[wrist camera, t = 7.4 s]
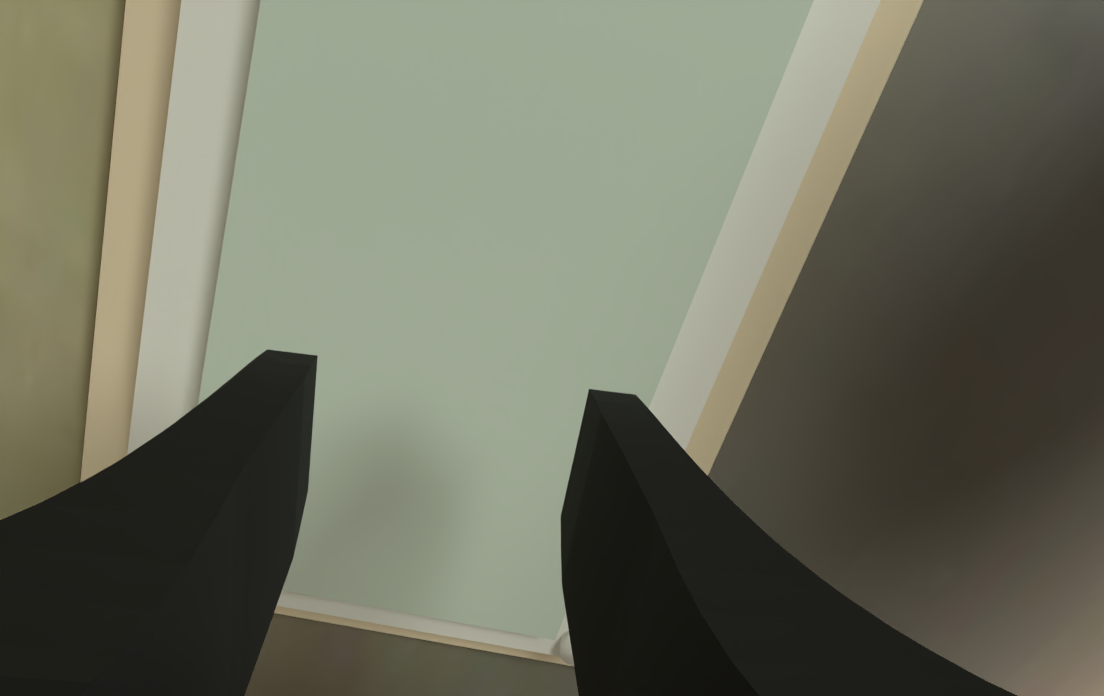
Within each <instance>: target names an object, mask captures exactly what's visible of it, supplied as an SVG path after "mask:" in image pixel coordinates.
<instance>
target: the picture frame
mask: <svg viewBox="0 0 1104 696" xmlns="http://www.w3.org/2000/svg"><path fill="white" fill-rule="evenodd" d="M922 3H923V0H126V5H125V15H124V26H123V36H122V47H121V58H120V68H119V79H118V89H117V100H116V111H115V121H114V132H113V142H112V153H111V163H110V174H109V185H108V195H107V206H106V216H105V227H104V238H103V248H102V259H101V269H100V280H99V290H98V301H97V312H96V322H95V333H94V343H93V354H92V365H91V375H90V386H89V396H88V407H87V417H86V428H85V439H84V449H83V460H82V470H81V481H80V482H82V481H84V480H86V479H88V478H90V477H91V476H93V475H95V474H97V473H98V472H100V471H102V470H104V469H105V468H107V467H109V466H111V465H112V464H114V463H116V462H117V461H119V460H121V459H122V458H124V457H125V456H127V455H128V454H130V453H131V452H133V451H134V450H136V449H137V448H139V447H140V446H142V445H143V444H145V443H146V442H148V441H149V440H151V439H152V438H154V437H155V436H157V435H158V434H160V433H161V432H162V431H164V430H165V429H167V428H168V427H169V426H171V425H172V424H174V423H175V422H176V421H177V420H179V419H180V418H181V417H183V416H184V415H185V414H187V413H188V412H189V411H191V410H192V409H193V408H194V407H196V406H197V405H198V404H200V403H201V402H202V401H204V400H205V399H206V398H208V397H209V396H210V395H211V394H212V393H214V392H215V391H216V390H217V389H219V388H220V387H221V386H222V385H224V384H225V383H226V382H227V381H228V380H230V379H231V378H232V377H233V376H234V375H236V374H237V373H238V372H239V371H240V370H242V369H243V368H244V367H245V366H246V365H247V364H249V363H250V362H251V361H252V360H254V359H255V358H256V357H257V356H259V355H260V354H261V353H263V352H264V351H266V350H267V349H268V350H276V351H284V352H293V353H301V354H309V355H317V356H318V358H317V372H316V386H315V400H314V414H313V428H312V442H311V456H310V470H309V484H308V493H307V498H306V502H305V507H304V512H303V516H302V521H301V526H300V530H299V535H298V539H297V543H296V548H295V552H294V557H293V560H292V563H291V566H290V569H289V572H288V575H287V577H286V580H285V583H284V586H283V589H282V592H281V594H280V597H279V600H278V603H277V606H276V608H275V611H274V613H277V614H282V615H288V616H294V617H299V618H305V619H310V620H316V621H322V622H327V623H333V624H338V625H344V626H350V627H355V628H361V629H367V630H372V631H378V632H383V633H389V634H395V635H400V636H406V637H411V638H417V639H423V640H428V641H434V642H440V643H445V644H451V645H456V646H462V647H468V648H473V649H479V650H484V651H490V652H496V653H501V654H507V655H513V656H518V657H524V658H529V659H535V660H541V661H546V662H552V663H557V664H563V665H569V666H574V661H573V655H572V648H571V642H570V636H569V629H568V622H567V616H566V609H565V603H564V596H563V589H562V572H561V512H562V508H563V504H564V499H565V495H566V490H567V486H568V481H569V477H570V472H571V468H572V463H573V459H574V454H575V450H576V445H577V441H578V436H579V432H580V427H581V423H582V418H583V414H584V409H585V405H586V400H587V396H588V391H589V389H594V390H602V391H610V392H618V393H626V394H634V395H637V396H638V398H639V399H640V400H641V401H642V402H643V403H644V404H645V405H646V406H647V407H648V409H649V410H650V411H651V412H652V413H653V414H654V415H655V417H656V418H657V419H658V420H659V421H660V422H661V424H662V425H663V426H664V427H665V428H666V430H667V431H668V432H669V433H670V434H671V435H672V436H673V438H674V439H675V440H676V441H677V442H678V443H679V445H680V446H681V447H682V448H683V449H684V450H685V451H686V453H687V454H688V455H689V456H690V457H691V458H692V459H693V460H694V462H695V463H696V464H697V465H698V466H699V467H700V468H701V469H702V470H703V471H704V473H705V474H706V475H707V476H708V474H709V472H710V469H711V467H712V465H713V463H714V461H715V458H716V456H717V454H718V452H719V450H720V447H721V445H722V443H723V441H724V439H725V436H726V434H727V432H728V430H729V428H730V425H731V423H732V421H733V419H734V417H735V414H736V412H737V410H738V408H739V406H740V403H741V401H742V399H743V397H744V395H745V392H746V390H747V388H748V386H749V384H750V381H751V379H752V377H753V375H754V373H755V370H756V368H757V366H758V364H759V362H760V359H761V357H762V355H763V353H764V351H765V348H766V346H767V344H768V342H769V340H770V337H771V335H772V333H773V331H774V329H775V326H776V324H777V322H778V320H779V318H780V315H781V313H782V311H783V309H784V307H785V304H786V302H787V300H788V298H789V296H790V293H791V291H792V289H793V287H794V285H795V282H796V280H797V278H798V276H799V274H800V271H801V269H802V267H803V265H804V263H805V260H806V258H807V256H808V254H809V251H810V249H811V247H812V245H813V243H814V240H815V238H816V236H817V234H818V232H819V229H820V227H821V225H822V223H823V221H824V218H825V216H826V214H827V212H828V210H829V207H830V205H831V203H832V201H833V199H834V196H835V194H836V192H837V190H838V188H839V185H840V183H841V181H842V179H843V177H844V174H845V172H846V170H847V168H848V166H849V163H850V161H851V159H852V157H853V155H854V152H855V150H856V148H857V146H858V144H859V141H860V139H861V137H862V135H863V133H864V130H865V128H866V126H867V124H868V122H869V119H870V117H871V115H872V113H873V111H874V108H875V106H876V104H877V102H878V100H879V97H880V95H881V93H882V91H883V89H884V86H885V84H886V82H887V80H888V78H889V75H890V73H891V71H892V69H893V67H894V64H895V62H896V60H897V58H898V56H899V53H900V51H901V49H902V47H903V44H904V42H905V40H906V38H907V36H908V33H909V31H910V29H911V27H912V25H913V22H914V20H915V18H916V16H917V14H918V11H919V9H920V7H921V5H922Z"/></svg>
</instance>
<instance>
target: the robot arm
mask: <svg viewBox="0 0 1104 696" xmlns="http://www.w3.org/2000/svg"><path fill="white" fill-rule="evenodd" d="M317 358H318V356H317V355H309V354H301V353H293V352H284V351H276V350H268V349H267V350H266V351H264V352H263V353H261V354H260V355H259V356H257V357H256V358H255V359H254V360H252V361H251V362H250V363H249V364H247V365H246V366H245V367H244V368H243V369H242V370H240V371H239V372H238V373H237V374H236V375H234V376H233V377H232V378H231V379H230V380H228V381H227V382H226V383H225V384H224V385H222V386H221V387H220V388H219V389H217V390H216V391H215V392H214V393H212V394H211V395H210V396H209V397H208V398H206V399H205V400H204V401H202V402H201V403H200V404H198V405H197V406H196V407H194V408H193V409H192V410H191V411H189V412H188V413H187V414H185V415H184V416H183V417H181V418H180V419H179V420H177V421H176V422H175V423H174V424H172V425H171V426H169V427H168V428H167V429H165V430H164V431H162V432H161V433H160V434H158V435H157V436H155V437H154V438H152V439H151V440H149V441H148V442H146V443H145V444H143V445H142V446H140V447H139V448H137V449H136V450H134V451H133V452H131V453H130V454H128V455H127V456H125V457H124V458H122V459H121V460H119V461H117V462H116V463H114V464H112V465H111V466H109V467H107V468H105V469H104V470H102V471H100V472H98V473H97V474H95V475H93V476H91V477H90V478H88V479H86V480H84V481H82V482H80V483H78V484H76V485H74V486H73V487H71V488H69V489H67V490H65V491H63V492H61V493H59V494H57V495H55V496H53V497H51V498H49V499H47V500H45V501H43V502H41V503H39V504H37V505H35V506H32V507H30V508H28V509H25V510H23V511H21V512H18V513H16V514H14V515H11V516H9V517H7V518H5V519H2V520H0V696H244V695H245V692H246V689H247V686H248V683H249V681H250V678H251V675H252V672H253V670H254V667H255V664H256V661H257V658H258V656H259V653H260V650H261V647H262V645H263V642H264V639H265V636H266V633H267V631H268V628H269V625H270V622H271V620H272V617H273V614H274V611H275V608H276V606H277V603H278V600H279V597H280V594H281V592H282V589H283V586H284V583H285V580H286V577H287V575H288V572H289V569H290V566H291V563H292V560H293V557H294V552H295V548H296V543H297V539H298V535H299V530H300V526H301V521H302V516H303V512H304V507H305V502H306V498H307V493H308V484H309V470H310V456H311V442H312V428H313V414H314V400H315V386H316V372H317ZM561 572H562V589H563V596H564V603H565V609H566V616H567V622H568V629H569V636H570V642H571V648H572V655H573V661H574V667H575V674H576V680H577V686H578V693H579V696H1017V695H1015V694H1013V693H1010V692H1008V691H1006V690H1004V689H1002V688H1000V687H998V686H996V685H993V684H991V683H989V682H987V681H985V680H983V679H981V678H980V677H978V676H976V675H974V674H972V673H970V672H968V671H967V670H965V669H963V668H961V667H959V666H958V665H956V664H954V663H952V662H950V661H949V660H947V659H945V658H943V657H941V656H939V655H938V654H936V653H934V652H932V651H930V650H929V649H927V648H925V647H923V646H922V645H920V644H918V643H917V642H915V641H913V640H912V639H910V638H909V637H907V636H905V635H904V634H902V633H900V632H899V631H897V630H895V629H894V628H892V627H890V626H889V625H887V624H886V623H884V622H883V621H881V620H880V619H878V618H877V617H875V616H874V615H872V614H871V613H869V612H868V611H866V610H865V609H863V608H862V607H860V606H859V605H857V604H856V603H854V602H853V601H851V600H850V599H848V598H847V597H846V596H844V595H843V594H841V593H840V592H839V591H837V590H836V589H834V588H833V587H832V586H830V585H829V584H828V583H826V582H825V581H824V580H822V579H821V578H820V577H818V576H817V575H816V574H815V573H813V572H812V571H811V570H810V569H808V568H807V567H806V566H805V565H803V564H802V563H801V562H800V561H798V560H797V559H796V558H795V557H793V556H792V555H791V554H790V553H788V552H787V551H786V550H785V549H783V548H782V547H781V546H780V545H779V544H778V543H776V542H775V541H774V540H773V539H772V538H771V537H769V536H768V535H767V534H766V533H765V532H764V531H763V530H762V529H761V528H760V527H759V526H757V525H756V524H755V523H754V522H753V521H752V520H751V519H750V518H749V517H748V516H747V515H746V514H745V513H744V512H743V511H742V510H741V509H740V508H739V507H738V506H736V505H735V504H734V503H733V502H732V501H731V500H730V499H729V498H728V497H727V496H726V495H725V494H724V492H723V491H722V490H721V489H720V488H719V487H718V486H717V485H716V484H715V483H714V482H713V481H712V480H711V479H710V478H709V477H708V476H707V475H706V474H705V473H704V471H703V470H702V469H701V468H700V467H699V466H698V465H697V464H696V463H695V462H694V460H693V459H692V458H691V457H690V456H689V455H688V454H687V453H686V451H685V450H684V449H683V448H682V447H681V446H680V445H679V443H678V442H677V441H676V440H675V439H674V438H673V436H672V435H671V434H670V433H669V432H668V431H667V430H666V428H665V427H664V426H663V425H662V424H661V422H660V421H659V420H658V419H657V418H656V417H655V415H654V414H653V413H652V412H651V411H650V410H649V409H648V407H647V406H646V405H645V404H644V403H643V402H642V401H641V400H640V399H639V398H638V396H637V395H634V394H626V393H618V392H610V391H602V390H594V389H589V391H588V396H587V400H586V405H585V409H584V414H583V418H582V423H581V427H580V432H579V436H578V441H577V445H576V450H575V454H574V459H573V463H572V468H571V472H570V477H569V481H568V486H567V490H566V495H565V499H564V504H563V508H562V512H561Z"/></svg>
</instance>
